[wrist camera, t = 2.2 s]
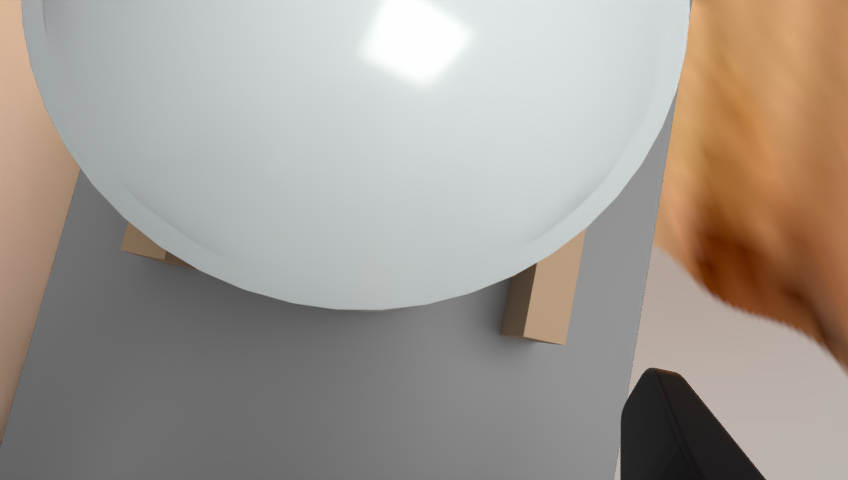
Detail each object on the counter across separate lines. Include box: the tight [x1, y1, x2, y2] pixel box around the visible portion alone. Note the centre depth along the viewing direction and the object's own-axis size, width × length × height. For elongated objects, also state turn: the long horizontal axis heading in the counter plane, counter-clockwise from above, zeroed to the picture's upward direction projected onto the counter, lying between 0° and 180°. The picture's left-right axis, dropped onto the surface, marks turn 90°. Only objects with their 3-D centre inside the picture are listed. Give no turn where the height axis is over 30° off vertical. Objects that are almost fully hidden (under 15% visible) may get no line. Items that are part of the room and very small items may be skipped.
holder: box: [0, 0, 692, 480], centre depth 17 cm, size 24×16×4 cm, turn 168°
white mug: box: [21, 0, 690, 312], centre depth 13 cm, size 9×7×12 cm
